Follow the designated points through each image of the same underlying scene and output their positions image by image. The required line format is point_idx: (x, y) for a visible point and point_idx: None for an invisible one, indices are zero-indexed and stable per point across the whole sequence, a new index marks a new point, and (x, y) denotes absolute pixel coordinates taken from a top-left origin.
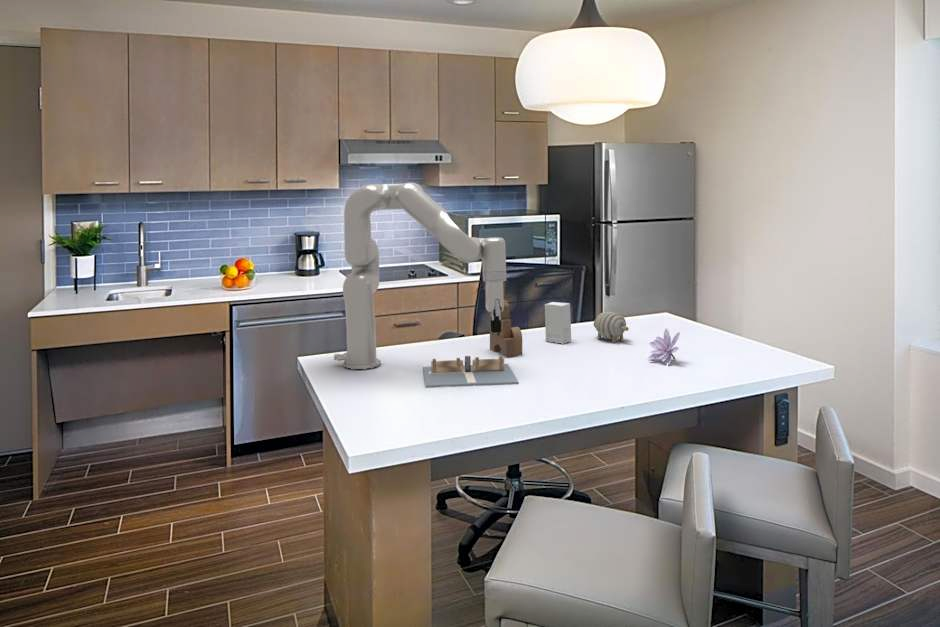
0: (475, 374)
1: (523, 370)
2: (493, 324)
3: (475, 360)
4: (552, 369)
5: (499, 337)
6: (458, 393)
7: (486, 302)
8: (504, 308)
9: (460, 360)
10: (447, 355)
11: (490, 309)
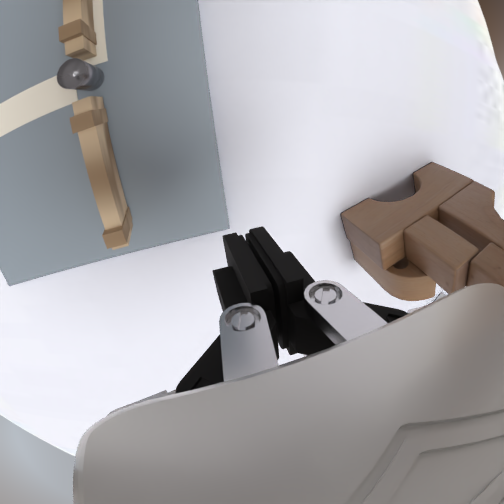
0: (49, 122)
1: (161, 284)
2: (240, 286)
3: (74, 115)
4: (186, 351)
5: (423, 213)
6: None
7: (441, 447)
8: None
9: (73, 41)
10: (382, 13)
11: (76, 470)
